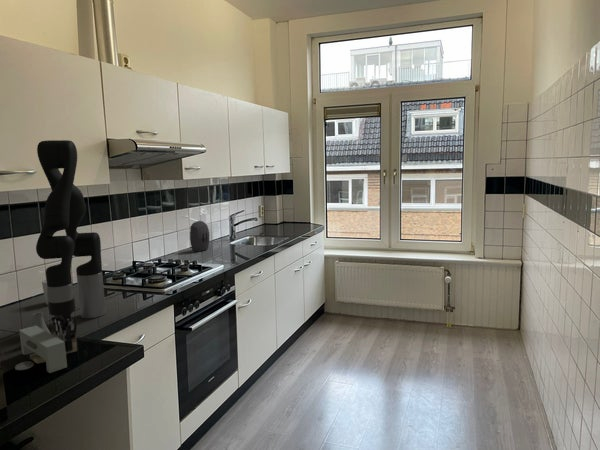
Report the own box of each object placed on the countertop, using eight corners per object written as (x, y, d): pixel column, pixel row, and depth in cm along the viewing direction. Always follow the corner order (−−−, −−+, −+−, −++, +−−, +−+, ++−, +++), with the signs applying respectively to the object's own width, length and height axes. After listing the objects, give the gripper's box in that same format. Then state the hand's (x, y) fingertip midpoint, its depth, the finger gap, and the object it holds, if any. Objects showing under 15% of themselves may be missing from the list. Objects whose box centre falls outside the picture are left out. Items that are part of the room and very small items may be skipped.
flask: (56, 336, 163) (54, 309, 162) (46, 345, 156) (43, 316, 155) (36, 337, 163) (32, 310, 162) (24, 346, 156) (21, 317, 154)
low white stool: (19, 354, 149) (16, 330, 148) (38, 348, 153) (36, 325, 152) (46, 374, 135) (43, 348, 134) (67, 367, 139) (64, 341, 138)
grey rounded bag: (204, 248, 314) (202, 218, 311) (213, 249, 310) (212, 219, 307) (188, 252, 301) (186, 222, 298) (198, 253, 297) (196, 222, 294)
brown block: (29, 358, 144) (28, 336, 143) (71, 347, 154) (70, 327, 153) (37, 363, 140) (36, 341, 140) (79, 352, 150) (78, 331, 149)
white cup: (54, 306, 198) (51, 283, 196) (40, 304, 200) (37, 282, 199) (68, 300, 205) (66, 278, 203) (55, 299, 207) (52, 277, 206)
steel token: (12, 367, 140) (12, 365, 140) (31, 362, 144) (30, 359, 144) (18, 372, 137) (17, 370, 137) (36, 367, 141) (36, 364, 140)
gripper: (83, 299, 145) (88, 351, 148) (63, 291, 154) (69, 340, 157) (58, 305, 140) (63, 359, 142) (39, 296, 149) (45, 347, 151)
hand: (66, 349), depth 150 cm, fingers closed on brown block, 2 cm apart
